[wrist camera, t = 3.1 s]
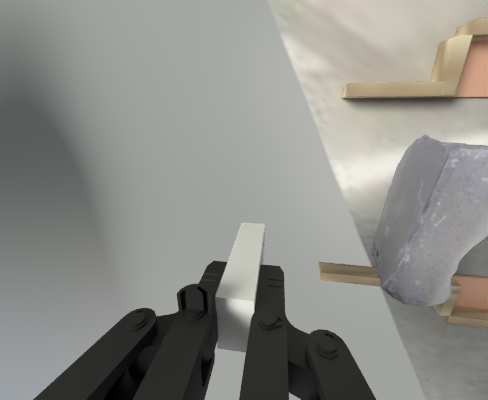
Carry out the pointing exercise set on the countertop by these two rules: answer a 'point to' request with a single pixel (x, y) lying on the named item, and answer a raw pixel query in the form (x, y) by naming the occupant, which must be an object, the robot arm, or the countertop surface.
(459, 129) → the countertop surface
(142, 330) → the robot arm
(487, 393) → the countertop surface
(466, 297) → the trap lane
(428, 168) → the stone block
